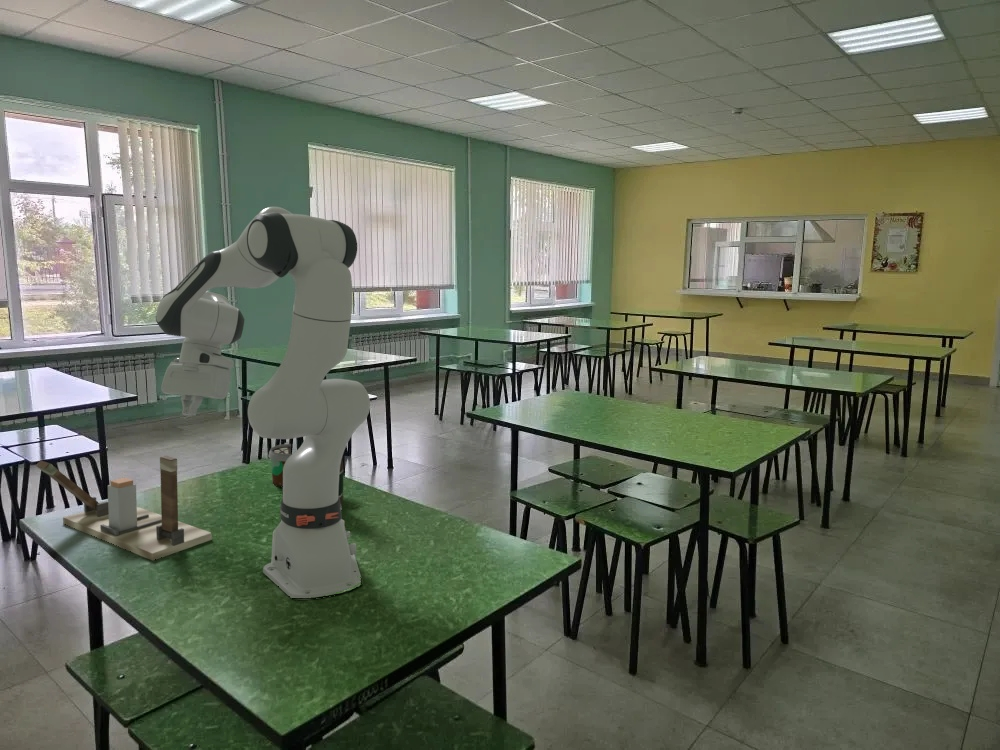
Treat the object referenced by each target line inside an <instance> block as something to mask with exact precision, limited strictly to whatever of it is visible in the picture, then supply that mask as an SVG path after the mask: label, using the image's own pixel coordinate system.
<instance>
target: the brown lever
mask: <svg viewBox="0 0 1000 750" xmlns="http://www.w3.org/2000/svg"><path fill="white" fill-rule="evenodd" d="M159 469H160V470H159V471H160V501H161V502H160V503H161V504H160V505H161V507H160V509H161V510H160V511H161V514H160V515H161V516H162V529H163V530H162V531H161V535H162V536H163V537H166V538H169V539H171V532H172V531H175V530H178V521H179V509H178V508H179V504H178V502H179V500H178V496H179V495H178V459H177V458H176V457H173V456H170V455H164V456H160V457H159Z"/></svg>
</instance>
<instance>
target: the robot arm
mask: <svg viewBox="0 0 1000 750" xmlns="http://www.w3.org/2000/svg"><path fill="white" fill-rule="evenodd" d="M357 254H358V241H357V236H356V234H355V232H354V230H353V229H352V227H351V226H349V225H348V224H346V223H343V222H341V221H339V220H335V219H325V218H320V217H316V216H310V215H308V214H302V213H301V214H300V213H292V212H291V211H289V209H288V210H287V209H285V208H283V207H280V206H268V207H266V208H263V209H262V210H261V211H260V212H259V213H258V214H256V215H255V216H254V217H253V219H252V220H250V222H249V223H248V224H247V226H246V227H245V228H244V229H243V231H242V232H241V234H240V236H239V237H238V238H237V240H236V241H234V242H233V243H232V244H230V245H229V246H227V247H224V248H222V249H220V250H214V251H211V252H208V254H207V255H206V256H204V257H203V258H202V259H201V260H200V261H199V262H198V263H197V264H196V265H195V266H194V267H193V268H192V269H191V270H190V272H189V273H188V274H187V275H186V276H185V277H184V278H183V279H182V280H181V281H180V282H179V283H178V284H177V285H176V286H175V287H174V288H173V289H172V290H170V291H168V292H167V293H165V294H164V295H163V297H162V298H161V300H160V301H159V303H158V306H157V308H156V312H155V313H156V314H155V321H156V323H157V325H158V327H159V328H160V329H161V331H163V332H164V334H166V335H168V336H173V337H184V339H183V340H182V344H181V350H180V355H179V357H175V358H174V359H173V360H171V362H170V363H169V365H168V366H167V368H166V369H165V373H164V374H163V375H164V376H163V378H162V381H161V382H162V383H161V386H160V390H161V393H162V394H165V395H172V396H179V397H180V396H181V397H180V401H181V405H182V411H181V415H184V416H193V417H195V416H196V415H197V412H198V409H199V407H200V406H201V405H202V403H203V400H204V398H207V399H217V400H219V399H220V400H224V399H226V397H227V396H228V395H229V392H230V391H229V390H230V386H231V381H232V372H231V371H232V369H234V365H235V362H234V360H232V359H231V358H228V357H226V356H224V355H223V354H222V350H223V349H222V345H223V346H224V345H232V344H234V343H236V342H238V341H239V340H240V339H241V337H242V336H243V331H244V326H245V325H244V324H245V317H244V314H243V313H242V312H241V310H240V309H239V308H238V307H237V306H234V305H232V304H230V303H229V299H228V298H227V297H226V296H225V295H223V294H220V293H219V292H214V291H209V290H211V289H215V288H222V287H223V288H241V289H242V288H243V289H261V288H265V287H268V286H270V285H272V284H274V283H275V282H276V281H277V280H278V279H279V278H284V277H285V276H287V275H288V274H289V275H290V276H291V277H292V280H293V281H294V284H295V285H294V286H295V292H294V293H295V294H294V300H293V306H292V307H293V309H292V316H291V325H290V332H289V333H290V334H289V338H288V339H289V340H288V342H287V343H288V344H287V349H286V351H285V355H284V357H283V358H282V362H281V363H280V365H279V366H278V367H277V370H276V372H274V374H273V375H272V376H271V378H270V379H269V380H268V381H267V382H266V383H265V384H264V385H263V386H261V387H260V388H258V389H257V390H256V391H254V393H253V394H252V396H251V398H250V400H249V402H248V407H247V418H248V422H249V424H250V427H251V428H252V430H253V431H254V432H255V434H256V435H258V436H259V437H261V438H262V439H263V438H264V439H273V440H291V439H298V438H302V437H305V438H304V439H303V442H302V443H301V445H300V446H299V448H298V449H297V450H296V451H295V452H293V453H291V456H290V457H289V458H288V459H287V460H286V462H285V464H284V467H283V487H282V499H281V500H280V506H279V512H280V516H279V518H280V520H281V521H280V522H279V523H278V525H277V527H275V529H274V530H272V531H273V532H272V541H271V560H270V562H269V563H267V564H265V565H264V566H263V567H262V573H263V574H264V575H265V576H267V578H269V579H270V580H271V581H272V582H273V583H274V584H275V585H276V586H277V587H278V586H279V587H278V588H279V589H280V590H282V592H284V593H285V594H286V595H287V596H290V597H289V598H291V599H292V598H308V597H309V598H311V597H319V596H324V595H329V594H333V593H336V592H340V591H343V590H347V589H349V588H352V587H353V586H355V585H357V584H358V583H360V582H361V581H360V580H359V579H361V578H362V576H361V571H360V569H359V565H358V562H357V558H356V554H357V550H358V549H357V543H356V542H350V543H349V540H348V539H350V538H351V531H349V530H346V526H345V520H344V519H342V517H343V516H342V515H343V514H342V511H341V510H343V508H342V509H341V503H340V498H339V497H338V492H339V473H340V464H341V459H342V460H343V455H344V452H345V449H346V447H347V445H348V443H349V441H350V440H351V437H352V436H353V434H354V433H355V431H356V430H357V429H358V428H359V427H360V426H361V425H362V424H363V423H364V422H365V421H366V420H367V418H368V415H369V413H370V409H371V399H370V395H369V393H368V391H367V389H366V388H365V387H364V384H362V383H361V382H359V381H357V380H351V379H345V378H344V379H343V378H329V379H328V378H327V379H325V377H326V375H327V374H328V373H329V372H330V371H331V370H332V369H333V368H334V367H337V366H338V365H339V364H340V363H341V362H342V361H343V360H344V359H345V358H346V355H347V352H348V345H349V337H350V331H351V330H350V329H351V322H352V321H351V320H352V313H353V312H352V311H353V280H352V274H351V270H350V267H351V266H352V265H353V264H354V262H355V261H356V258H357ZM356 576H357V577H356ZM360 577H361V578H360ZM347 585H351V586H347Z"/></svg>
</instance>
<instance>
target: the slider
mask: <svg viewBox="0 0 1000 750" xmlns="http://www.w3.org/2000/svg"><path fill="white" fill-rule="evenodd" d="M109 483H110V484H108V485H107V502H108V510H109V527H111V528H114V529H117V530H119V532H120V531H123V530H127V529H130V528H133V527H137V507H138V502H137V501H138V500H137V484H135V483H134V480H133V479H131V478H127V477H121V478H116V479H113V480H110V481H109Z"/></svg>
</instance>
